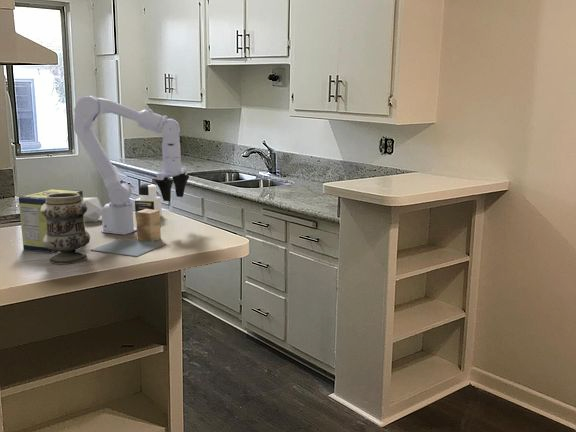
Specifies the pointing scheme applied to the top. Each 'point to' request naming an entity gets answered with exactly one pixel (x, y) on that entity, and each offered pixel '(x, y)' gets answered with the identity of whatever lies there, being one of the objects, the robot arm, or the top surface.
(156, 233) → the oak block
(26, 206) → the protein box
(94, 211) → the die
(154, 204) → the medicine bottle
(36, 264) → the top surface
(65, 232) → the apothecary jar
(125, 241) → the slate mat
